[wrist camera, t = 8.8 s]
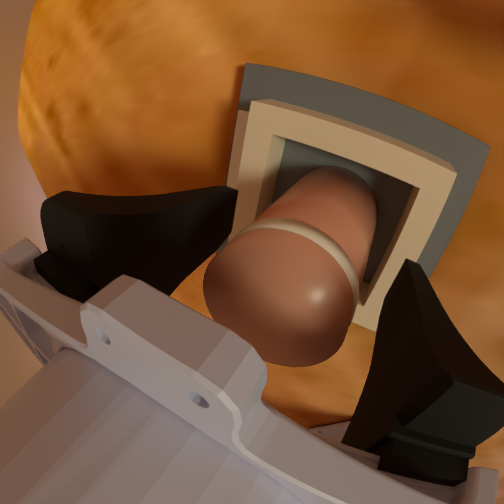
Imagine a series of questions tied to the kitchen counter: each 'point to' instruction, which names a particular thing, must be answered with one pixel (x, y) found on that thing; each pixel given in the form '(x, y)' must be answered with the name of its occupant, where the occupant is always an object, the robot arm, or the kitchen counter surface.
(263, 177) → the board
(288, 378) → the kitchen counter surface
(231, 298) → the tube
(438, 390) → the robot arm
